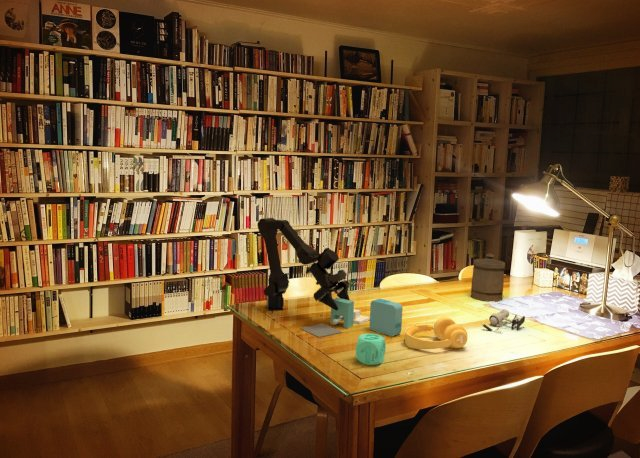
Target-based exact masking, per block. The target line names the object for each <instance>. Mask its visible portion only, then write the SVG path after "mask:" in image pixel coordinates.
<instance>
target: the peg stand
mask: <svg viewBox="0 0 640 458" xmlns="http://www.w3.org/2000/svg"><path fill="white" fill-rule="evenodd" d="M361 312H362V310H361V309H356V308H354V313H353V324H358V325H361V324H363V323H366V322H368V321H370V316H367V315H362V314H361ZM342 321H344V317H342V316H340V318H339V319H334V320H333V324H336V325H338V324H339V323H338V322H340V323H341V322H342ZM337 323H338V324H337Z"/></svg>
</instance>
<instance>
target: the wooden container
mask: <svg viewBox="0 0 640 458" xmlns="http://www.w3.org/2000/svg"><path fill="white" fill-rule="evenodd" d="M485 256H486V258H476V259H474V260H473V267H472V278H471V289H470V297H471V298H472V299H475V300H478V301H482V302H490V301H495V302H500V301H499V300H501V301H503V293H504V281H505V279H504V277H505V268H506V262H505V261H503V260H499V259H494V254H493V253H486V255H485Z"/></svg>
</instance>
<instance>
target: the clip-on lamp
mask: <svg viewBox="0 0 640 458" xmlns="http://www.w3.org/2000/svg"><path fill="white" fill-rule="evenodd" d="M509 316H510V312H509V310H507V309H502V310H500V311H498V312H496V313H492V314H490V316H489V318H488V320H489V323H490V324H491V325H492V326H495V327H498V328H497V329H496V330H493V328H491V327H489V326H488V325H487V324H483V323H481V326H482V327H483V328H485V329H486V331H487V330H488V331H489V332H493V333H495V332H497V331H498V330H499V328H501V326H503V325H505V324H511V330H514V327H515V326H516V331H519V329H520V328H521V326H522V325H524V323H525V322H526V316H524V315H523V316H521V317H519V316H518V315H517V314H515V315H514V317H513V318H512V319H510V318H508V317H509ZM503 321H504V322H503Z"/></svg>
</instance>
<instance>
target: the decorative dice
mask: <svg viewBox="0 0 640 458" xmlns="http://www.w3.org/2000/svg"><path fill="white" fill-rule="evenodd" d="M386 347H387V345H386V339H385V338H384V337H383V336H382V335H380V334H376V333H363V334H361V335H359V336H358V339H357V341H356V347H355V357H356V359H357V361H359V363H360V364H363V365H366V366H367V365H368V366H376V365H377V366H378V365H380V364H382V363H383V362H384V358H385V355H386Z"/></svg>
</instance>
